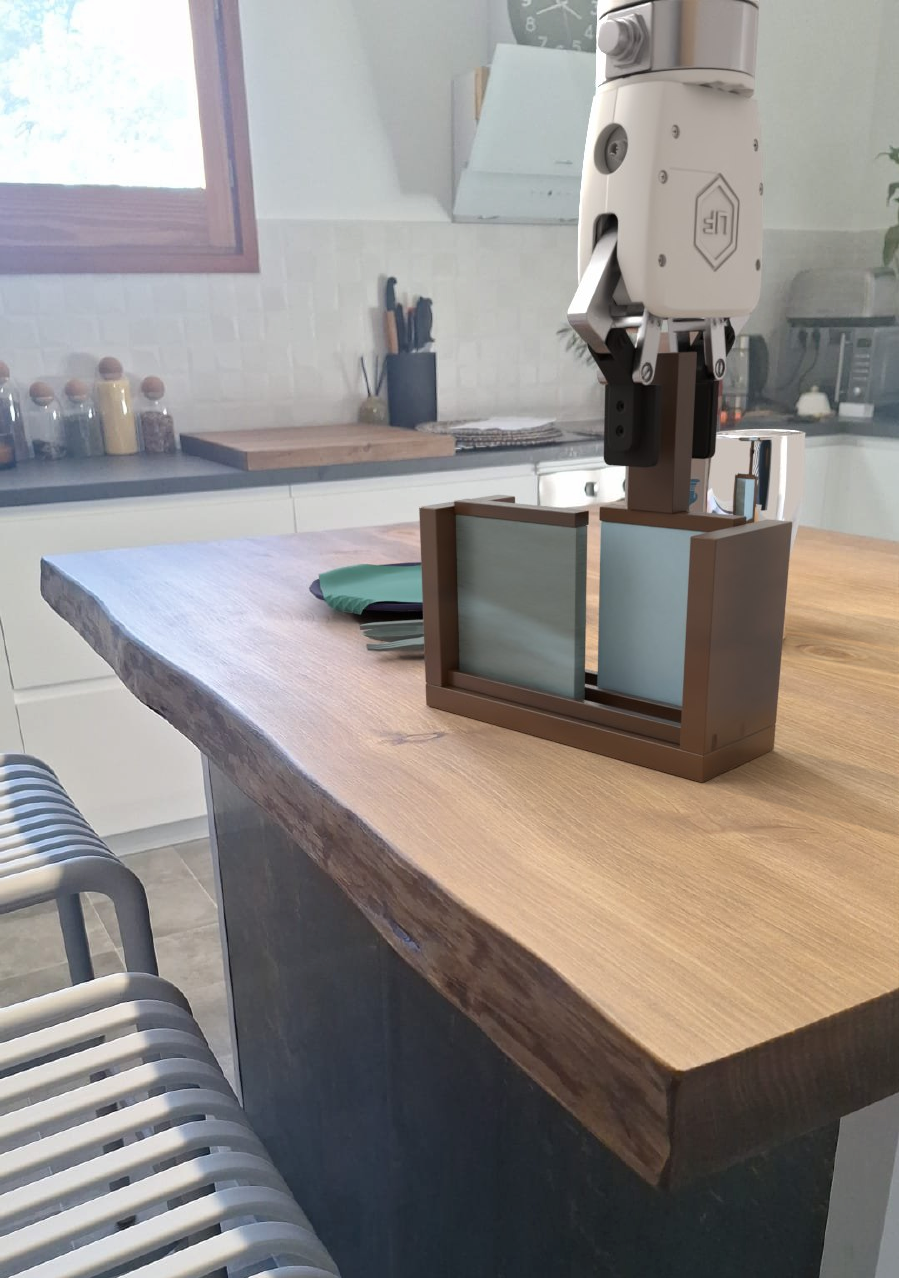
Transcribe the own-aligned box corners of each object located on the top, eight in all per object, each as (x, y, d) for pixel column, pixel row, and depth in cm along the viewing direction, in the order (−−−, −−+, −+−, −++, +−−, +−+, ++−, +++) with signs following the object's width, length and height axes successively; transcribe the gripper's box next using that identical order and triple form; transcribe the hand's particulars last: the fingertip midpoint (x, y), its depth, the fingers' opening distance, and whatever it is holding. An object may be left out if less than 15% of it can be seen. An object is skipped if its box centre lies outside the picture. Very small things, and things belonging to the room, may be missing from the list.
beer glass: (679, 637, 88) (689, 434, 82) (733, 622, 92) (746, 427, 87) (756, 652, 83) (772, 437, 78) (809, 635, 87) (828, 430, 82)
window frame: (500, 682, 78) (498, 489, 73) (774, 749, 63) (793, 515, 59) (425, 705, 73) (418, 501, 68) (702, 783, 59) (716, 532, 54)
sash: (610, 685, 69) (618, 353, 62) (735, 714, 63) (760, 350, 56) (593, 691, 68) (599, 354, 61) (719, 720, 62) (742, 351, 55)
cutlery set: (507, 576, 113) (507, 553, 112) (584, 648, 86) (585, 618, 85) (307, 587, 111) (305, 563, 110) (319, 665, 83) (317, 634, 82)
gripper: (630, 19, 46) (618, 480, 53) (835, 74, 57) (804, 451, 64) (496, 55, 52) (501, 472, 58) (709, 99, 62) (692, 446, 69)
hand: (659, 457), depth 61 cm, fingers open, 4 cm apart
